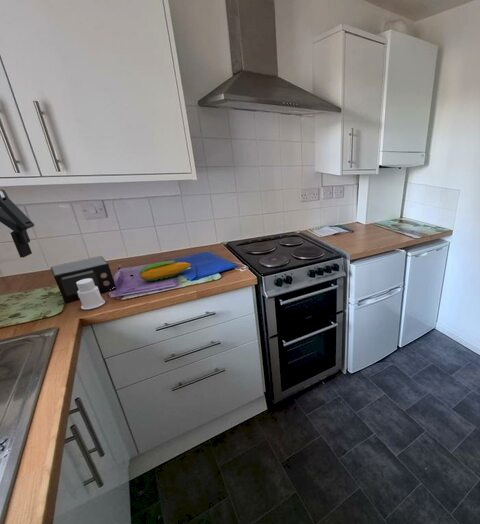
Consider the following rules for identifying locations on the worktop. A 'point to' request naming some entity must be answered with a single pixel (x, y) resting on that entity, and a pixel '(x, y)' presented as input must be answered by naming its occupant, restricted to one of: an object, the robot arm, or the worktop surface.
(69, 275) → the toaster oven
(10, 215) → the robot arm
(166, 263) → the corn
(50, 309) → the worktop surface
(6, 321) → the worktop surface
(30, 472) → the worktop surface
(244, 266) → the worktop surface
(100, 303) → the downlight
